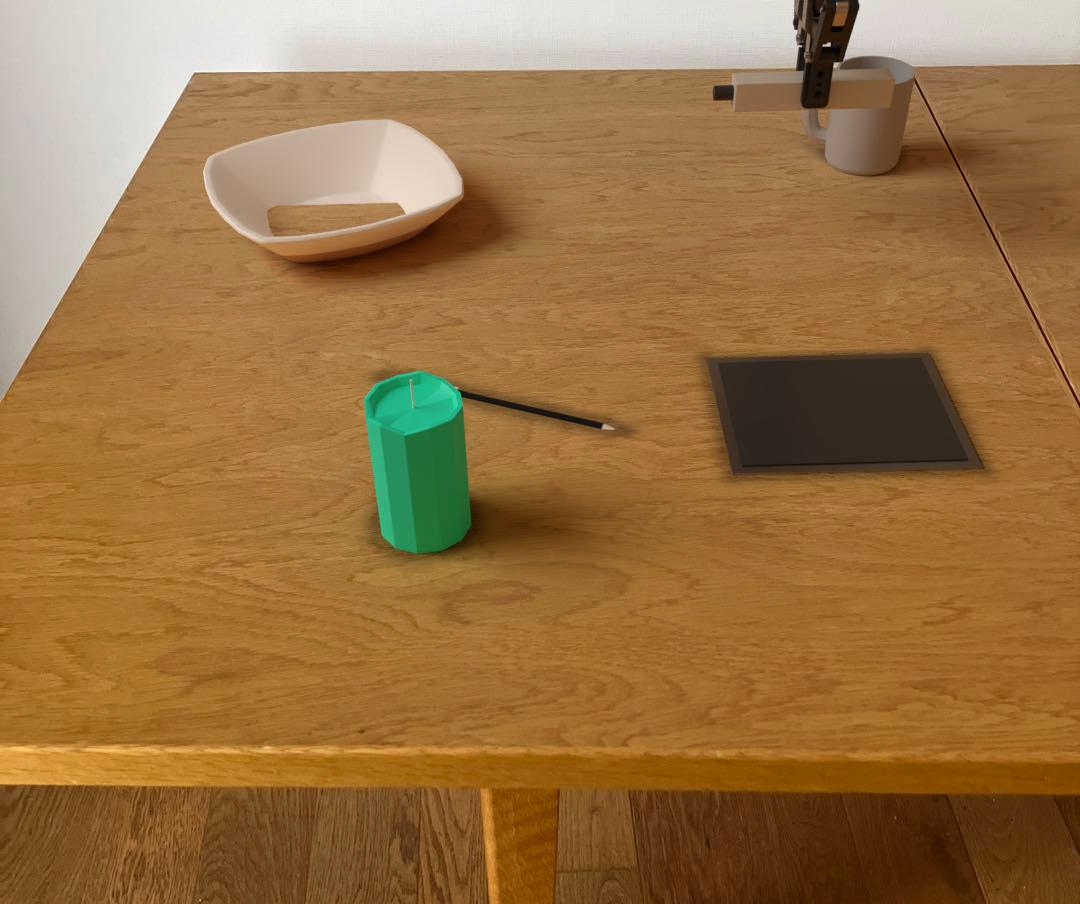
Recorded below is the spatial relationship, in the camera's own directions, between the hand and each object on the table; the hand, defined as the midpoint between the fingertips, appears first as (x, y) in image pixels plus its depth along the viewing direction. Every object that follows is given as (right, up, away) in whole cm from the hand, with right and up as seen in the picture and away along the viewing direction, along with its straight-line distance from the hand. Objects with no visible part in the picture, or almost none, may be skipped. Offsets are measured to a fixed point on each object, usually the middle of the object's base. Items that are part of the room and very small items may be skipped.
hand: (810, 98), depth 100 cm
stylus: (0, 0, 0) cm, 0 cm away
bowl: (-41, -9, +10) cm, 43 cm away
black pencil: (-25, -28, -12) cm, 39 cm away
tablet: (-1, -28, -13) cm, 31 cm away
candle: (-30, -36, -21) cm, 52 cm away
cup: (+8, +1, +19) cm, 21 cm away
